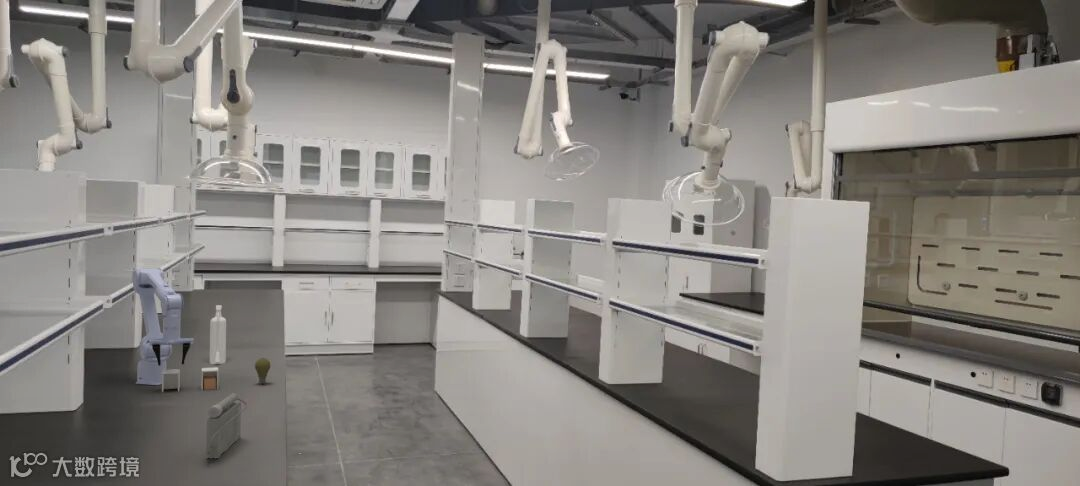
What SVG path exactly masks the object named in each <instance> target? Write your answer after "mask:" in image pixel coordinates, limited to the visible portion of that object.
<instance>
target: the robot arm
mask: <svg viewBox="0 0 1080 486" xmlns="http://www.w3.org/2000/svg"><path fill="white" fill-rule="evenodd" d="M164 279H165V273H164V270H163V269H162V268H161V267H158V268H134V270H133V271H132V276H131V280H132V281H131V283H132V286H133V287H132V288H133V290H134V292H135V293H136V294H138V296H139V300H140V306H141V311H142V316H143V322H144V329H145V334H146V335H145V336H144V337H142V338H141V340H139V355H140V357H141V359H140V360H139V362H138V363H137V368H136V369H137V371H136V372H137V373H136V374H137V376H136V379H137V380H136V382H135V384H136V385H147V386H148V385H151V386H160V385H162V372H163V370H167V360H169V357H170V356H171V354H172V352H173V345H174V346H176V345H182V357H181V358H182V359H181V365H185V360H186V356H187V354H188V351H189V350H190V347H191V345H194V344H195V343H194V341H195V339H194V338H193V337H190V338H188V337H186V338H185V337H181V324H182V323H181V318H182V317H181V316H182V312H181V311H182V309H183V308H184V304H185V303H184V302H185V301H184V296H183V295H182V293H177V292H175V290H174V289H173V288H172V286H171V285H170V284H168V283H165V281H164ZM155 296H156V297H157V298H158V299H159V301H160V307H161V315H162V318H163V319H162V332H161V326H160V322H159V315H158V310H157V305H156V299H155Z"/></svg>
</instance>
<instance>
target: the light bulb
mask: <svg viewBox="0 0 1080 486" xmlns="http://www.w3.org/2000/svg"><path fill="white" fill-rule="evenodd" d="M254 368H255V371H256V373H257V377H258V383H259V384H261V385H264V384H265V383H267V382H266V381H267V380H266V379H267V376H268V373H269V371H270V369H271V362H270V360H269V359H268V358H265V357H261V358H259V359H257V360H256V362H255V363H254Z"/></svg>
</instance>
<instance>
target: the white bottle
mask: <svg viewBox="0 0 1080 486" xmlns="http://www.w3.org/2000/svg"><path fill="white" fill-rule="evenodd" d="M222 308H223V305H221V304H216V305H215V316H214V317H212V318H210V321H209V326H210V327H209V364H211V365H221V364H225V363H226V362H227V361H226V359H227V354H226V353H227V319H226V318H225V317H223V315H222Z"/></svg>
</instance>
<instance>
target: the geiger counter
mask: <svg viewBox="0 0 1080 486" xmlns="http://www.w3.org/2000/svg"><path fill="white" fill-rule="evenodd" d="M242 403H243V404H244V405H245V407H244V408H243V409H241V408H242V405H241V404H242ZM247 408H248V404H247V402H246V401H245V400H243V399H241V398H238V394H237V393H234V392H232V393H231V394H229V395H227V397H225V398H224V399H222V400H220V402H218V403H217V404H214V405H212V406H211V407H209V409H208V411H207V415H208V418H207V419H206V451H205V453H206V458H207V457H208V458H215V457H217V458H218V457H219V456H220V455H221V454H222V453H223V452H224V451H225V450H226V449H227V448H229V447H230V446H231V445H232V444H233V443H234V442H235V441H236V442H238V441H239V439H241V425H242V424H241V423H242V421H241V415H242V413H243V412H244V411H245V410H247ZM236 442H235V443H236ZM235 443H234V444H235ZM234 444H233V445H234ZM233 445H232V446H233ZM232 446H231V447H232ZM231 447H230V448H231ZM230 448H229V449H230ZM221 456H222V455H221ZM221 456H220V457H221ZM220 457H219V458H220ZM219 458H218V459H219Z"/></svg>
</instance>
